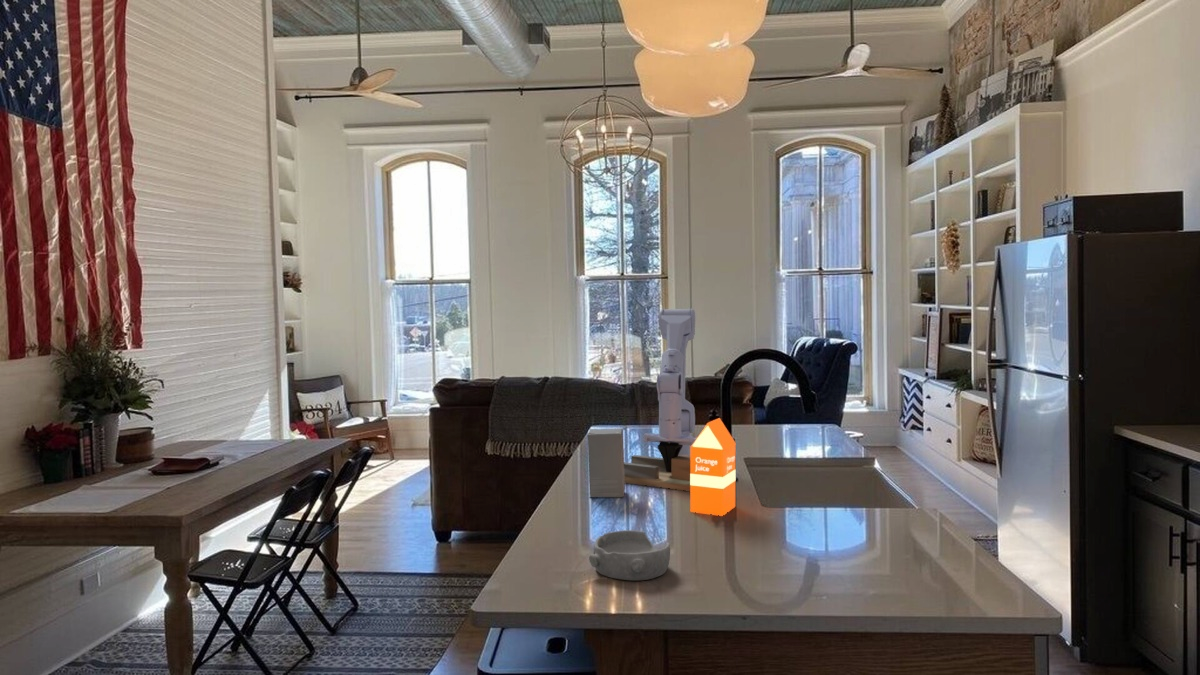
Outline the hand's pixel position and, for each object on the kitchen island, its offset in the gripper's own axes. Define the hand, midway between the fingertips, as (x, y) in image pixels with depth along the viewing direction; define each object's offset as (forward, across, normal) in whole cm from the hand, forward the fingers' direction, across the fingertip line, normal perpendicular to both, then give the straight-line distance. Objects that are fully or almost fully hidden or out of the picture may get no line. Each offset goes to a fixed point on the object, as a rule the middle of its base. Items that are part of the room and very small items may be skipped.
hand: (670, 471), depth 202 cm
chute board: (+3, -3, 0) cm, 4 cm away
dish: (+3, +22, -62) cm, 66 cm away
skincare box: (+3, -7, -20) cm, 22 cm away
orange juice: (+3, +20, -19) cm, 27 cm away
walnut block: (+1, +4, 0) cm, 4 cm away
